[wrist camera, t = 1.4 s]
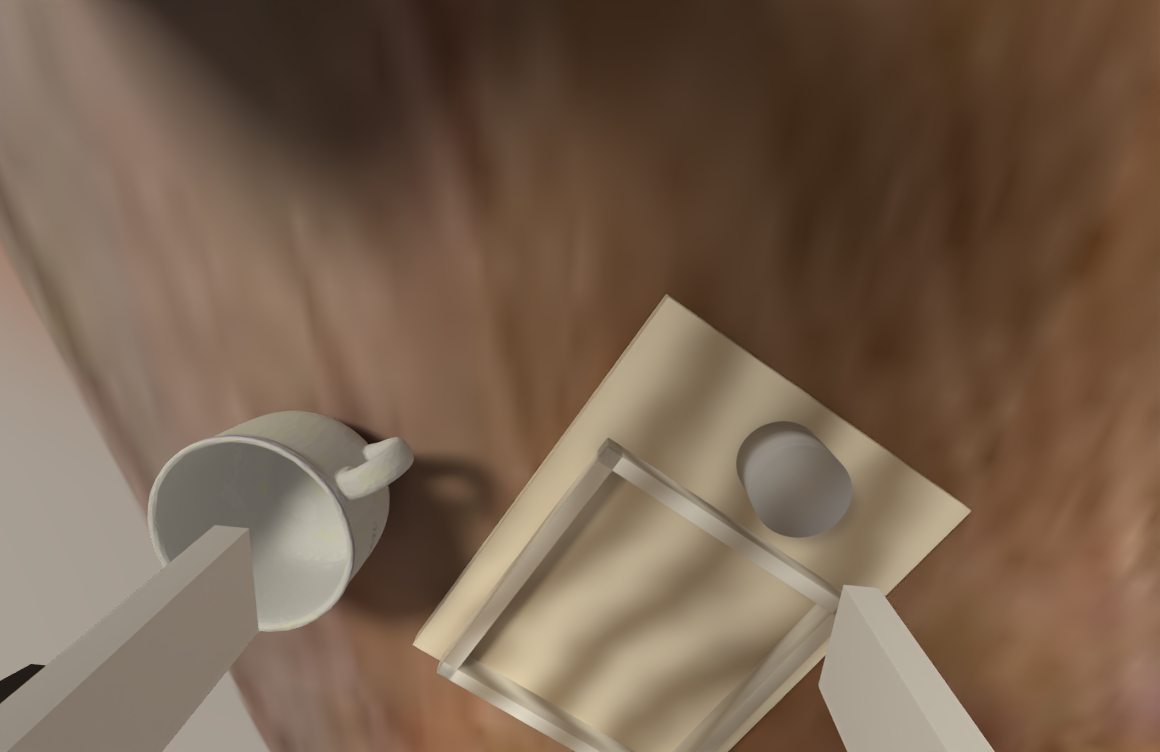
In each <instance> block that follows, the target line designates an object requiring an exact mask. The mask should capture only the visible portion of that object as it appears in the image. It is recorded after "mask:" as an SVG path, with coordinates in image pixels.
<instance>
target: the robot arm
mask: <svg viewBox="0 0 1160 752" xmlns="http://www.w3.org/2000/svg"><path fill="white" fill-rule="evenodd" d="M258 632H259V629H258V618H257V607H256V597H255V586H254V576H253V565H252V554H251V544H250V533H249V528H240V527H229V526H219V525H214V526H213V527H212V528H211V529H210V530H208V531H207V532H206V533H205V534H204V535H202V536H201V537H200V538H199V539H198V540H196V541H195V542H194V543H193V544H192V545H190V546H189V547H188V548H187V549H186V550H184V551H183V552H182V553H181V554H180V555H178V556H177V557H176V558H175V559H174V560H172V561H171V562H170V563H169V564H168V565H166V566H165V567H164V568H163V569H162V570H160V571H159V572H158V573H157V574H156V575H154V577H152V578H151V579H150V580H148V581H147V582H146V583H145V584H144V585H143V586H142V587H140V588H139V589H138V590H136V591H135V592H134V593H133V594H132V595H130V596H129V597H128V598H127V599H126V600H125V601H123V602H122V603H121V604H120V605H118V606H117V607H116V608H115V609H114V610H112V611H111V612H110V613H109V614H108V615H106V616H105V617H104V618H103V619H102V620H100V621H99V622H98V623H97V624H96V625H94V626H93V627H92V628H91V629H90V630H88V631H87V632H86V633H85V634H84V635H82V636H81V637H80V638H79V639H78V640H76V641H75V642H74V643H73V644H72V645H70V646H69V647H68V648H67V649H66V650H64V651H63V652H62V653H61V654H60V655H58V656H57V657H56V658H55V659H54V660H52V661H51V662H50V663H49V664H48V665H35V664H30V665H29V666H27V667H25V668H23V669H21V670H19V671H18V672H16V673H14V674H12V675H10V676H8V677H6V678H5V679H3V680H1V681H0V752H162V751H163V750H164V749H165V747H166V746H167V745H168V744H169V742H170V741H171V740H172V739H173V737H174V736H175V735H176V734H177V733H178V731H179V730H180V729H181V727H182V726H183V725H184V724H185V722H186V721H187V720H188V718H190V716H191V715H192V714H193V712H194V711H195V710H196V709H197V708H198V706H199V705H200V704H201V703H202V701H203V700H204V699H205V698H206V696H207V695H208V694H209V693H210V691H211V690H212V689H213V688H214V686H215V685H216V684H217V683H218V681H219V680H220V679H221V678H222V676H223V675H224V674H225V673H226V672H227V670H228V669H229V668H230V667H231V665H232V664H233V663H234V662H235V660H236V659H237V658H238V657H239V655H240V654H241V653H242V652H243V650H244V649H245V648H246V647H247V645H248V644H249V643H250V642H251V640H252V639H253V638H254V637H255V635H256V634H257V633H258ZM818 686H819V689H820V691H821V693H822V696H823V698H824V700H825V702H826V705H827V707H828V709H829V711H830V714H831V716H832V718H833V721H834V723H835V725H836V727H837V730H838V732H839V734H840V736H841V739H842V741H843V743H844V746H845V748H846V750H847V752H994V750H993V749H992V747H991V746H990V744H989V743H988V742H987V740H986V739H985V737H984V736H983V735H982V733H981V732H980V730H979V729H978V728H977V726H976V725H975V723H974V722H973V720H972V719H971V718H970V716H969V715H968V713H967V712H966V711H965V709H964V708H963V706H962V705H961V704H960V702H959V701H958V699H957V698H956V696H955V695H954V694H953V692H952V691H951V689H950V688H949V687H948V685H947V684H946V682H945V681H944V680H943V678H942V677H941V675H940V674H939V672H938V671H937V670H936V668H935V667H934V665H933V664H932V663H931V661H930V660H929V658H928V657H927V655H926V654H925V653H924V651H923V650H922V648H921V647H920V646H919V644H918V643H917V641H916V640H915V639H914V637H913V636H912V634H911V633H910V631H909V630H908V629H907V627H906V626H905V624H904V623H903V622H902V620H901V619H900V617H899V616H898V615H897V613H896V612H895V610H894V609H893V607H892V606H891V605H890V603H889V602H888V600H887V599H886V598H885V596H884V595H883V593H882V592H881V591H880V589H879V588H873V587H862V586H852V585H843V589H842V593H841V597H840V601H839V605H838V609H837V613H836V617H835V621H834V625H833V629H832V633H831V637H830V641H829V645H828V649H827V653H826V657H825V661H824V665H823V669H822V673H821V677H820V681H819V685H818Z"/></svg>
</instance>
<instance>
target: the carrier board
mask: <svg viewBox="0 0 1160 752" xmlns="http://www.w3.org/2000/svg"><path fill="white" fill-rule="evenodd" d="M970 512H971V510H970V509H969V508H967V507H966V506H965V505H964V504H963V503H961V502H960V501H959V500H958V499H956V498H955V497H953V496H952V495H950V494H949V493H948V492H946V491H945V490H943V489H942V488H941V487H939V486H938V485H936V484H935V483H933V482H932V481H931V480H929V479H928V478H926V477H925V476H924V475H922V474H921V473H919V472H918V471H916V470H915V469H914V468H912V467H911V466H909V465H908V464H907V463H905V462H904V461H902V460H901V459H899V458H898V457H897V456H895V455H894V454H892V453H891V452H890V451H888V450H887V449H885V448H884V447H882V446H881V445H880V444H878V443H877V442H875V441H874V440H873V439H871V438H870V437H868V436H867V435H865V434H864V433H863V432H861V431H860V430H858V429H857V428H856V427H854V426H853V425H851V424H850V423H848V422H847V421H846V420H844V419H843V418H841V417H840V416H839V415H837V414H836V413H834V412H833V411H831V410H830V409H829V408H827V407H826V406H824V405H823V404H822V403H820V402H819V401H817V400H816V399H814V398H813V397H812V396H810V395H809V394H807V393H806V392H805V391H803V390H802V389H800V388H799V387H797V386H796V385H795V384H793V383H792V382H790V381H789V380H788V379H786V378H785V377H783V376H782V375H780V374H779V373H778V372H776V371H775V370H773V369H772V368H771V367H769V366H768V365H766V364H765V363H763V362H762V361H761V360H759V359H758V358H756V357H755V356H754V355H752V354H751V353H749V352H748V351H746V350H745V349H744V348H742V347H741V346H739V345H738V344H737V343H735V342H734V341H732V340H731V339H729V338H728V337H727V336H725V335H724V334H722V333H721V332H720V331H718V330H717V329H715V328H714V327H712V326H711V325H710V324H708V323H707V322H705V321H704V320H703V319H701V318H700V317H698V316H697V315H696V314H694V313H693V312H691V311H690V310H688V309H687V308H686V307H684V306H683V305H681V304H680V303H679V302H677V301H676V300H674V299H673V298H671V297H670V296H669V295H667V294H666V295H665V296H664V297H663V299H662V300H661V301H660V303H659V304H658V306H657V307H656V308H655V310H654V311H653V312H652V314H651V315H650V316H649V318H648V319H647V321H646V322H645V323H644V325H643V326H642V327H641V329H640V330H639V331H638V333H637V334H636V336H635V337H634V338H633V340H632V341H631V342H630V344H629V345H628V346H627V348H626V349H625V351H624V352H623V353H622V355H621V356H620V357H619V359H618V360H617V362H616V363H615V364H614V366H613V367H612V368H611V370H610V371H609V372H608V374H607V375H606V377H605V378H604V379H603V381H602V382H601V383H600V385H599V386H598V387H597V389H596V390H595V392H594V393H593V394H592V396H591V397H590V398H589V400H588V401H587V402H586V404H585V405H584V407H583V408H582V409H581V411H580V412H579V413H578V415H577V416H576V417H575V419H574V420H573V422H572V423H571V424H570V426H569V427H568V428H567V430H566V431H565V433H564V434H563V435H562V437H561V438H560V439H559V441H558V442H557V443H556V445H555V446H554V448H553V449H552V450H551V452H550V453H549V454H548V456H547V457H546V458H545V460H544V461H543V463H542V464H541V465H540V467H539V468H538V469H537V471H536V472H535V473H534V475H533V476H532V478H531V479H530V480H529V482H528V483H527V484H526V486H525V487H524V488H523V490H522V491H521V493H520V494H519V495H518V497H517V498H516V499H515V501H514V502H513V503H512V505H511V506H510V508H509V509H508V510H507V512H506V513H505V514H504V516H503V517H502V519H501V520H500V521H499V523H498V524H497V525H496V527H495V528H494V529H493V531H492V532H491V534H490V535H489V536H488V538H487V539H486V540H485V542H484V543H483V544H482V546H481V547H480V549H479V550H478V551H477V553H476V554H475V555H474V557H473V558H472V559H471V561H470V562H469V564H468V565H467V566H466V568H465V569H464V570H463V572H462V573H461V574H460V576H459V577H458V579H457V580H456V581H455V583H454V584H453V585H452V587H451V588H450V589H449V591H448V592H447V594H446V595H445V596H444V598H443V599H442V600H441V602H440V603H439V605H438V606H437V607H436V609H435V610H434V611H433V613H432V614H431V615H430V617H429V618H428V620H427V621H426V622H425V624H424V625H423V626H422V628H421V629H420V630H419V632H418V634H417V636H416V638H415V641H414V643H413V645H414V646H416V647H417V648H419V649H421V650H423V651H424V652H426V653H428V654H429V655H431V656H433V657H435V658H436V659H438V660H440V663H439V665H438V668H437V671H436V672H437V673H438V674H440V675H442V676H444V677H445V678H447V679H449V680H451V681H453V682H454V683H456V684H458V685H460V686H461V687H463V688H465V689H467V690H468V691H470V692H472V693H474V694H475V695H477V696H479V697H481V698H482V699H484V700H486V701H488V702H489V703H491V704H493V705H495V706H496V707H498V708H500V709H502V710H503V711H505V712H507V713H509V714H510V715H512V716H514V717H516V718H517V719H519V720H521V721H523V722H524V723H526V724H528V725H530V726H531V727H533V728H535V729H537V730H538V731H540V732H542V733H544V734H545V735H547V736H549V737H551V738H552V739H554V740H556V741H558V742H559V743H561V744H563V745H565V746H566V747H568V748H570V749H572V750H574V751H575V752H728V751H729V750H730V749H731V748H732V747H733V746H734V745H735V744H736V743H737V742H738V741H739V740H740V739H741V738H742V737H743V736H744V735H745V734H746V733H747V732H748V731H749V730H750V729H751V728H752V727H753V726H754V725H755V724H756V723H757V722H758V721H759V720H760V719H761V718H762V717H763V716H764V715H765V714H766V713H767V712H768V711H769V710H770V709H771V708H773V707H774V706H775V705H776V704H777V703H778V702H779V701H780V700H781V699H782V698H783V697H784V696H785V695H786V694H787V693H788V692H789V691H790V690H791V689H792V688H793V687H794V686H795V685H796V684H797V683H798V682H799V681H800V680H801V679H802V678H803V677H804V676H805V675H806V674H807V673H808V672H809V671H810V670H811V669H812V668H813V667H814V666H815V665H816V664H817V663H818V662H819V661H820V660H821V659H822V658H823V657H824V656H825V655H826V653H827V649H828V645H829V641H830V637H831V633H832V629H833V625H834V621H835V617H836V613H837V609H838V605H839V601H840V597H841V593H842V589H843V585H852V586H862V587H873V588H879V589H880V591H881V592H882V593H883V595H884V596H886V595H887V594H888V593H889V592H890V591H891V590H892V589H893V588H894V587H895V586H896V585H897V584H898V583H899V582H900V581H901V580H902V579H903V578H904V577H905V576H906V575H907V574H908V573H909V572H910V571H911V570H912V569H913V568H914V567H915V566H916V565H917V564H918V563H919V562H920V561H921V560H922V559H923V558H924V557H925V556H926V555H927V554H928V553H929V552H930V551H931V550H932V549H933V548H934V547H936V546H937V545H938V544H939V543H940V542H941V541H942V540H943V539H944V538H945V537H946V536H947V535H948V534H949V533H950V532H951V531H952V530H953V529H954V528H955V527H956V526H957V525H958V524H959V523H960V522H961V521H962V520H963V519H964V518H965V517H966V516H967V515H968V514H969V513H970Z"/></svg>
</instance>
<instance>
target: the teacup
mask: <svg viewBox="0 0 1160 752" xmlns="http://www.w3.org/2000/svg"><path fill="white" fill-rule="evenodd" d="M413 461H414V455H413V452H412V450H411V448H410V447H409V445H408V444H407V443H406V441H404V440H403V439H402V438H399V437H394V438H389V439H386V440H384V441H381V442H378V443H372V444H369V445H368V443H367V442H366V441H365V440H364V439H363V438H362V437H361V436H360V435H359V434H358V433H356V432H355V431H354V430H352V429H351V428H350V427H348V426H346V425H345V424H343V423H341V422H339V421H338V420H335V419H333V418H331V417H328V416H325V415H322V414H318V413H314V412H307V411H282V412H276V413H271V414H267V415H264V416H260V417H258V418H255V419H253V420H250V421H247V422H245V423H242V424H240V425H237V426H235V427H233V428H231V429H229V430H226V431H224V432H222V433H220V434H218V435H216V436H214V437H211V438H207V439H204V440H201V441H199V442H196V443H194V444H192V445H189V446H187V447H186V448H184V449H183V450H181V451H180V452H178V453H177V454H176V455H175V456H174V457H172V458H171V459H170V460H169V461H168V462H167V463H166V464H165V466H164V467H163V468H162V469H161V471H160V473H159V475H158V477H157V478H156V480H155V482H154V485H153V487H152V490H151V493H150V498H149V504H148V524H149V532H150V536H151V540H152V543H153V546H154V549H155V553H156V555H157V557H158V558H159V560H160V563H161V565H162V567H163V568H164V567H165V566H166V565H168V564H169V563H170V562H171V561H172V560H174V559H175V558H176V557H177V556H178V555H180V554H181V553H182V552H183V551H184V550H186V549H187V548H188V547H189V546H190V545H192V544H193V543H194V542H195V541H196V540H198V539H199V538H200V537H201V536H202V535H204V534H205V533H206V532H207V531H208V530H210V529H211V528H212V527H213V526H214V525H219V526H229V527H240V528H249V533H250V544H251V554H252V565H253V576H254V586H255V597H256V607H257V618H258V629H259V631H269V632H271V631H285V630H291V629H294V628H298V627H301V626H304V625H307V624H310V623H311V622H313V621H314V620H317V619H318V618H320V617H321V616H322V615H323V614H325V613H326V612H328V611H329V610H330V609H331V608H332V607H333V606H334V605H335V604H336V603H337V602H338V600H339V599H340V598H341V597H342V596H343V594H344V591H345V589H346V588H347V586H348V584H349V582H350V581H351V580H352V578H353V577H354V576H355V575H356V573H357V572H358V571H359V569H360V568H361V567H362V565H363V564H364V562H365V561H366V560H367V558H368V557H369V555H370V554H371V552H372V551H373V549H374V548H375V546H376V544H377V543H378V541H379V539H380V537H381V535H382V533H383V530H384V528H385V525H386V521H387V517H388V513H389V499H390V496H389V487H388V485H389V484H390V483H392V482H393V481H395V480H396V479H397V478H399V477H400V476H401V475H402V474H403V473H404V472H406V471H407V470H408V469H409V468H410V466H411V465H412V463H413Z"/></svg>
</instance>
